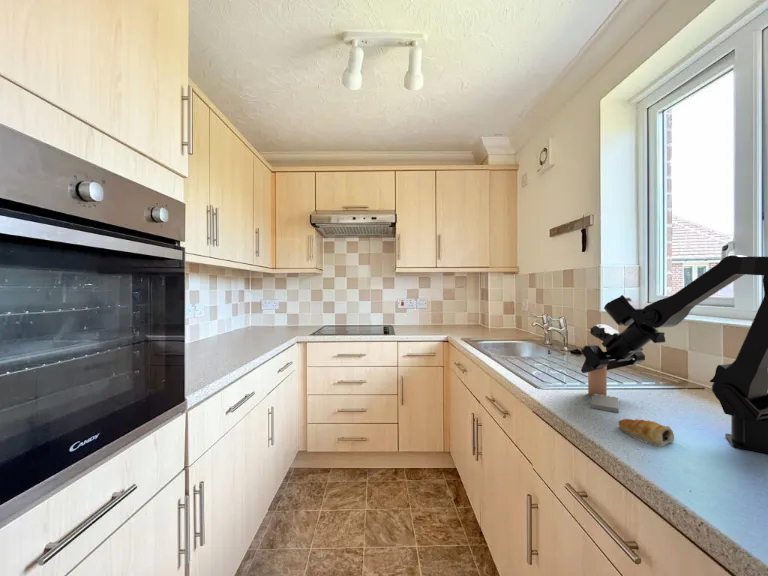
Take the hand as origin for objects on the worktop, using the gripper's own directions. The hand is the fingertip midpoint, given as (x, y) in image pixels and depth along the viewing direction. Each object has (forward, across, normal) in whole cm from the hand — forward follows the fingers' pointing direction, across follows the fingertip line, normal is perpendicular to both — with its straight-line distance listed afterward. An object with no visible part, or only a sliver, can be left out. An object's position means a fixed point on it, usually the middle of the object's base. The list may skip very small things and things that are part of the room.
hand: (593, 370), depth 101 cm
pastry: (-12, +16, +23) cm, 30 cm away
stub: (+4, 0, +6) cm, 7 cm away
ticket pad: (0, +5, +10) cm, 12 cm away
